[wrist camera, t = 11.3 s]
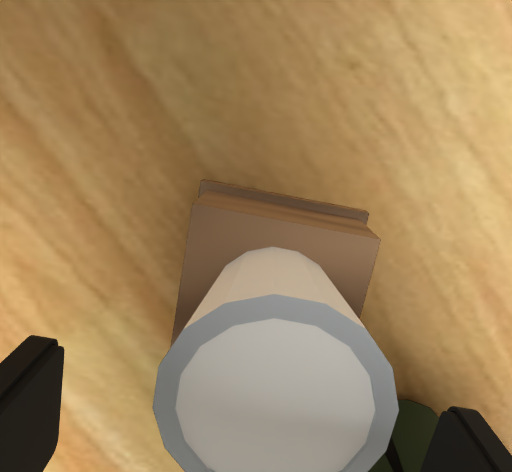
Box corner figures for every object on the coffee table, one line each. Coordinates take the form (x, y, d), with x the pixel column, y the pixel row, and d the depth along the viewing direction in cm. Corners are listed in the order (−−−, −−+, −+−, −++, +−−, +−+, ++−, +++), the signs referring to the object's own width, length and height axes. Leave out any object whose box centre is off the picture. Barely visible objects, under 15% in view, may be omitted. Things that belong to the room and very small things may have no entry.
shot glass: (383, 308, 18) (452, 414, 11) (272, 404, 19) (274, 550, 13) (272, 198, 17) (274, 242, 10) (163, 308, 18) (100, 410, 12)
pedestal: (203, 179, 22) (184, 192, 17) (365, 210, 22) (392, 232, 17) (179, 328, 24) (157, 377, 19) (327, 356, 24) (342, 412, 19)
